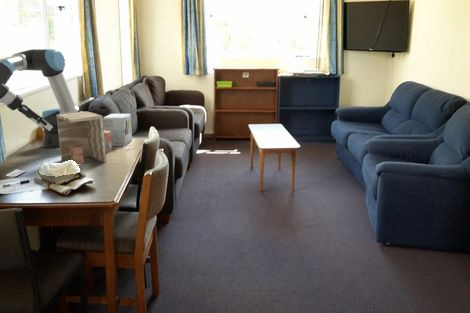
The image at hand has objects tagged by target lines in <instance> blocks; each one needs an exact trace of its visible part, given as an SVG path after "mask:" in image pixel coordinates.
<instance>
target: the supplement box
mask: <svg viewBox="0 0 470 313" xmlns="http://www.w3.org/2000/svg"><path fill="white" fill-rule="evenodd" d="M131 115H132V114H131V113H110V114H108V115H105V116H104V117H103V128H104V130H106V131H111V133H112V147H115V146H117V147H122V146H123V147H125V146H126V145H128V144H130V143H131V142H132V141H133V134H132V133H133V131H132V116H131Z"/></svg>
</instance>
